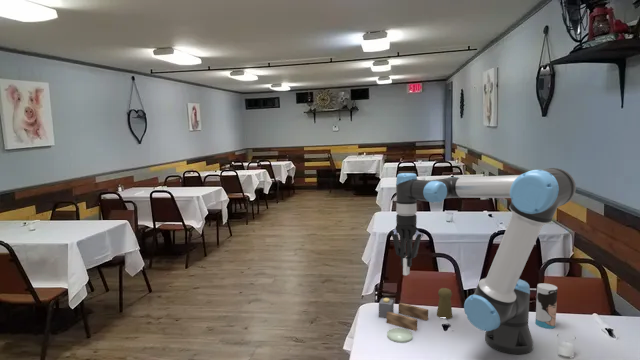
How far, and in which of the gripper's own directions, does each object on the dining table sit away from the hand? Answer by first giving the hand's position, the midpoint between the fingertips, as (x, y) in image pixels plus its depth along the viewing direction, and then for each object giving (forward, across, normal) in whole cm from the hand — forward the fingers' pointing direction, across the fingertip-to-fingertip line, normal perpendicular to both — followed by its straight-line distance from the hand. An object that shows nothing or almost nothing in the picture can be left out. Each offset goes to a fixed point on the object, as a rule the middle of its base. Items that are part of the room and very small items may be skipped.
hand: (406, 274), depth 164 cm
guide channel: (+19, 0, 0) cm, 19 cm away
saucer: (+19, -3, +13) cm, 23 cm away
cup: (+20, -44, -27) cm, 56 cm away
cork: (+19, -10, -13) cm, 25 cm away
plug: (+19, +9, 0) cm, 21 cm away
